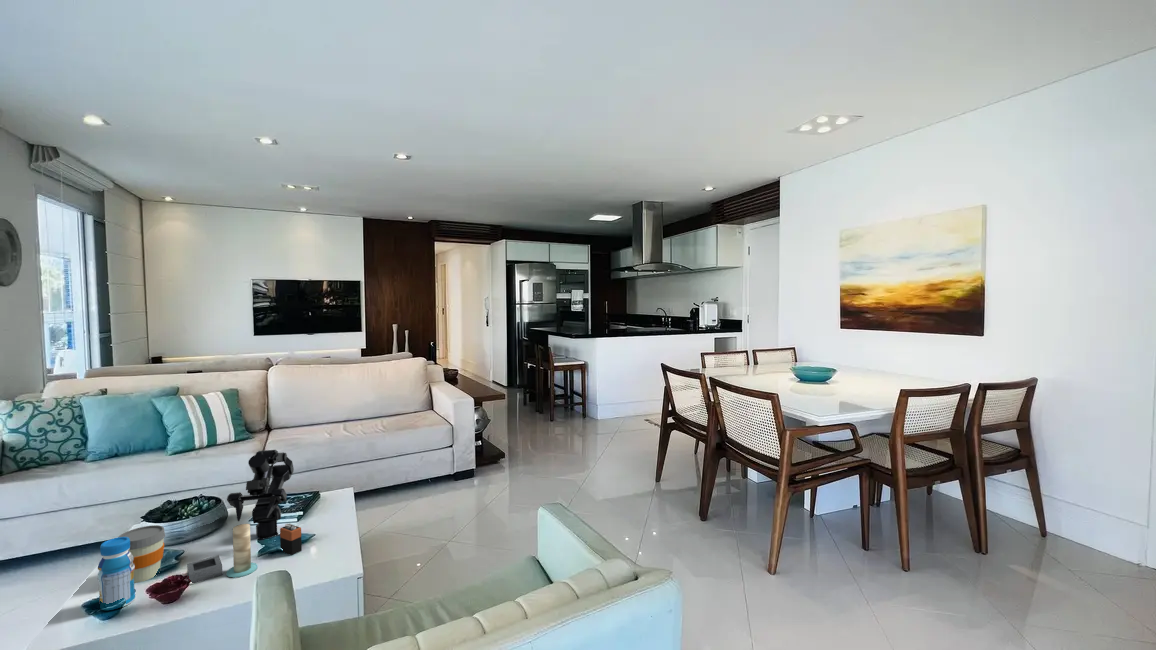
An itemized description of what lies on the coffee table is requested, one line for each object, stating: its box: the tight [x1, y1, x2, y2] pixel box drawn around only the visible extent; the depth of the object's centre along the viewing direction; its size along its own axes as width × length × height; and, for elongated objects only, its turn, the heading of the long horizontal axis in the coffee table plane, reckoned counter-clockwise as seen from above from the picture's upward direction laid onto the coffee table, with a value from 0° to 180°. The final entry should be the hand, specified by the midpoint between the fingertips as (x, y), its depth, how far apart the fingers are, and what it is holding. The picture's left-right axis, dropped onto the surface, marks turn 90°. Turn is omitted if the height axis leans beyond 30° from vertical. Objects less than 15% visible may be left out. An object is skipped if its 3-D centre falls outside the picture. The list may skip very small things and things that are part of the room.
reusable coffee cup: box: [118, 524, 166, 584], centre depth 169 cm, size 12×13×15 cm
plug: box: [232, 523, 252, 573], centre depth 172 cm, size 5×5×15 cm
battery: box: [279, 523, 303, 556], centre depth 186 cm, size 4×7×10 cm, turn 63°
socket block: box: [186, 554, 223, 584], centre depth 170 cm, size 9×9×4 cm
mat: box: [225, 562, 258, 579], centre depth 172 cm, size 9×9×1 cm
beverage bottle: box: [97, 536, 136, 606], centre depth 153 cm, size 8×8×20 cm
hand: (252, 519), depth 183 cm, fingers open, 9 cm apart
